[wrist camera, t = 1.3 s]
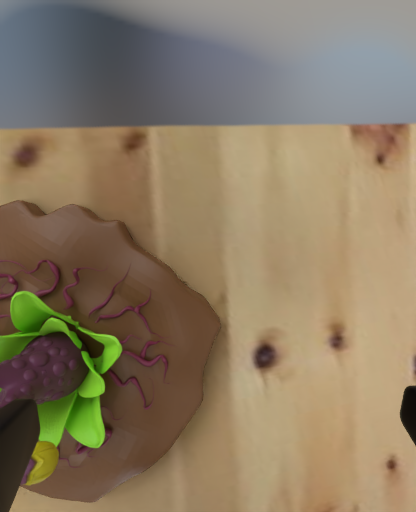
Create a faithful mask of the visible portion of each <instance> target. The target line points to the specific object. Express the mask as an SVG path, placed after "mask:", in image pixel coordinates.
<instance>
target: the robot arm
mask: <svg viewBox="0 0 416 512" xmlns="http://www.w3.org/2000/svg"><path fill="white" fill-rule="evenodd" d="M400 418H401V421H402V424H403V426H404V427H405V429H406V430H407V432H408V434H409V435H410V437H411V439H412V440H413V442H414V444H415V445H416V386H408V387H406V389H405V391H404V395H403V400H402V405H401V410H400ZM39 435H40V422H39V416H38V409H37V404H36V401H35V400H34V399H16V400H13V401H11V402H10V403H8V404H6V405H5V406H3V407H2V408H0V512H9V510H10V508H11V506H12V503H13V501H14V498H15V496H16V493H17V491H18V488H19V486H20V483H21V481H22V479H23V476H24V474H25V471H26V469H27V466H28V464H29V461H30V459H31V456H32V454H33V451H34V449H35V447H36V444H37V442H38V439H39Z"/></svg>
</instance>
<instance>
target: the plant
mask: <svg viewBox="0 0 416 512" xmlns="http://www.w3.org/2000/svg"><path fill="white" fill-rule="evenodd" d="M220 328H221V323H220V319H219V317H218V316H217V314H216V313H215V312H214V311H213V309H212V308H211V306H210V305H209V303H208V301H207V300H206V299H205V298H204V297H203V296H202V295H201V294H199V293H197V292H195V291H194V290H192V289H190V288H189V287H187V286H186V285H185V284H184V283H183V282H182V281H181V280H180V279H179V278H178V277H177V276H176V274H175V273H174V271H173V270H172V269H171V268H170V267H169V266H167V265H166V264H165V263H163V262H162V261H160V260H159V259H157V258H155V257H154V256H152V255H151V254H149V253H148V252H146V251H144V250H143V249H141V248H139V247H138V246H137V245H136V244H135V243H134V241H133V240H132V238H131V237H130V235H129V233H128V230H127V228H126V225H125V223H124V222H121V221H118V220H114V221H103V220H101V219H99V218H98V217H97V216H96V215H95V214H94V213H93V212H92V211H91V210H89V209H87V208H84V207H81V206H78V205H74V204H71V205H67V206H64V207H62V208H59V209H57V210H55V211H54V212H52V213H50V214H47V215H45V214H44V213H43V212H42V211H41V210H40V209H39V208H38V207H37V206H36V205H34V204H32V203H28V202H25V201H20V200H17V201H14V202H10V203H8V204H5V205H2V206H0V408H2V407H3V406H5V405H6V404H8V403H10V402H11V401H13V400H16V399H34V400H35V401H36V404H37V409H38V416H39V422H40V435H39V439H38V442H37V444H36V447H35V449H34V451H33V454H32V456H31V459H30V461H29V464H28V466H27V469H26V471H25V474H24V476H23V479H22V481H21V483H20V486H21V487H23V488H26V489H28V490H30V491H33V492H36V493H39V494H42V495H45V496H48V497H52V498H57V499H64V500H71V501H81V502H96V501H97V500H99V499H100V498H101V497H102V496H104V495H105V494H107V493H108V492H110V491H111V490H112V489H114V488H115V487H117V486H118V485H120V484H122V483H123V482H125V481H127V480H128V479H130V478H132V477H134V476H136V475H138V474H140V473H142V472H144V471H145V470H147V469H148V468H150V467H151V466H152V465H153V464H154V463H156V462H157V461H158V460H159V459H160V458H161V457H162V456H163V455H164V454H165V453H166V452H167V451H168V450H169V449H170V448H171V447H172V445H173V444H174V442H175V441H176V439H177V438H178V436H179V435H180V433H181V432H182V430H183V429H184V428H185V426H186V425H187V424H188V422H189V421H190V419H191V418H192V417H193V415H194V414H195V412H196V411H197V409H198V408H199V406H200V404H201V402H202V400H203V372H204V367H205V364H206V361H207V358H208V356H209V353H210V350H211V348H212V345H213V342H214V340H215V338H216V336H217V334H218V332H219V330H220Z"/></svg>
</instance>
